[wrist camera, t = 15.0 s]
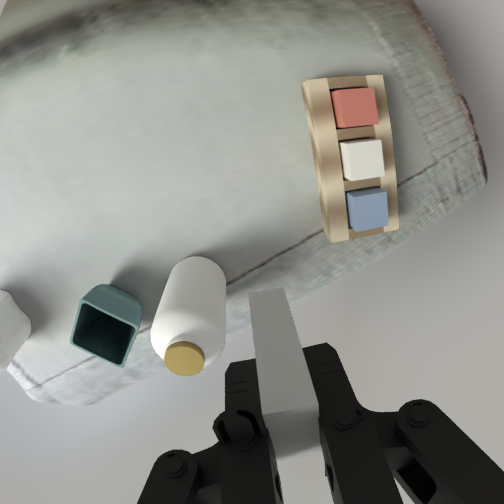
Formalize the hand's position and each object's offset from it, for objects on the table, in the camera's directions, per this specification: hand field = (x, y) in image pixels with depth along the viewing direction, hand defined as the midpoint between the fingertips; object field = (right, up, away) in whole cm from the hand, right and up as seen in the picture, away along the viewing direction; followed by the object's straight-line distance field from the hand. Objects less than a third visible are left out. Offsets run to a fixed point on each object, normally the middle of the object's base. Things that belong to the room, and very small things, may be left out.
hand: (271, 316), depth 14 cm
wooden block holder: (+12, +16, +27) cm, 34 cm away
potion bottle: (-9, -1, +33) cm, 34 cm away
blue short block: (+14, +10, +29) cm, 33 cm away
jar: (-47, -9, +34) cm, 59 cm away
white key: (+12, +16, +26) cm, 33 cm away
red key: (+11, +21, +24) cm, 34 cm away
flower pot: (-22, -5, +34) cm, 41 cm away
